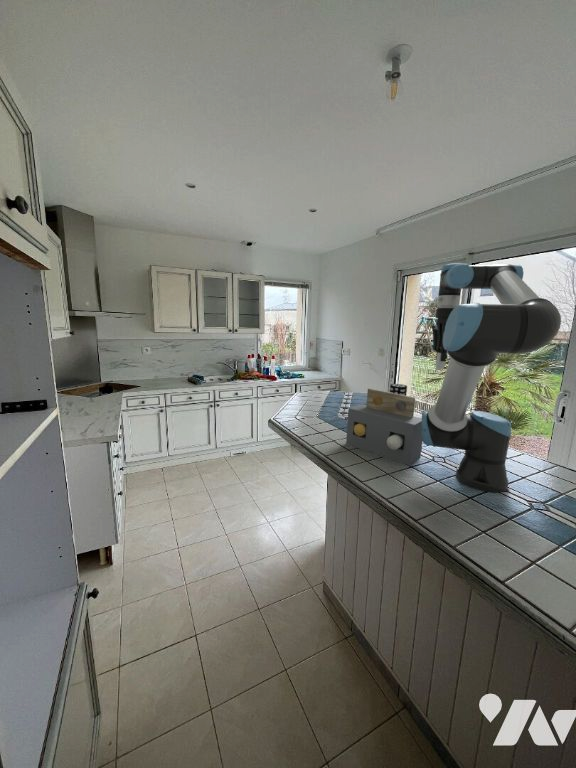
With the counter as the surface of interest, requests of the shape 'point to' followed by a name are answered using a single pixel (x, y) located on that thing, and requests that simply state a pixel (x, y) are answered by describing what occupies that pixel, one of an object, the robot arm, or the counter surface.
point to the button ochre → (360, 429)
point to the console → (385, 433)
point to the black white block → (398, 389)
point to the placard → (391, 402)
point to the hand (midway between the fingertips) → (439, 369)
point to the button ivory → (395, 441)
